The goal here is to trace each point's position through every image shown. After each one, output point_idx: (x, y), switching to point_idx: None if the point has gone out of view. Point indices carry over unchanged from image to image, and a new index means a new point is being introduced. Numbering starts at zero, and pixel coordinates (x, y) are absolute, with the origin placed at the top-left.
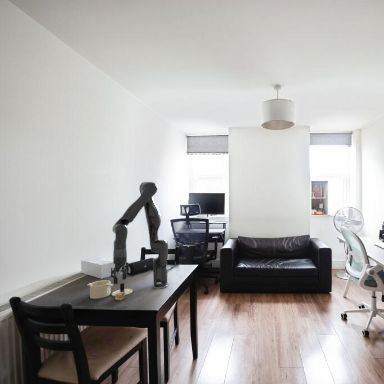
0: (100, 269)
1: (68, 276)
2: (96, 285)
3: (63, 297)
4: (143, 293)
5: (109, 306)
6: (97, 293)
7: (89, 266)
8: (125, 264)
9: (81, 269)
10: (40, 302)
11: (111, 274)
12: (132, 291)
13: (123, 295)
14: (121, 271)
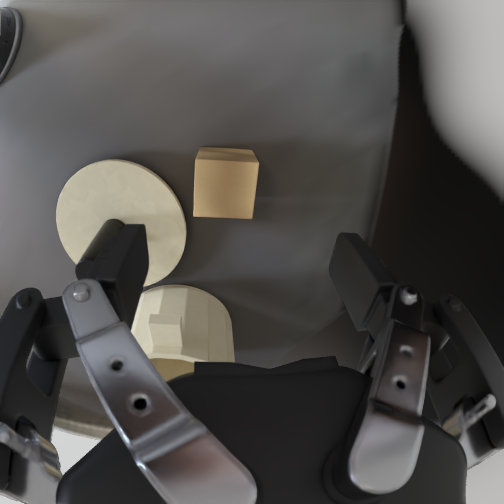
0: None
1: (84, 436)
2: None
3: None
4: (93, 66)
5: (344, 181)
6: (229, 337)
7: None
8: (61, 500)
9: (52, 432)
10: None
11: (450, 368)
12: (82, 168)
13: (223, 155)
14: (273, 369)
